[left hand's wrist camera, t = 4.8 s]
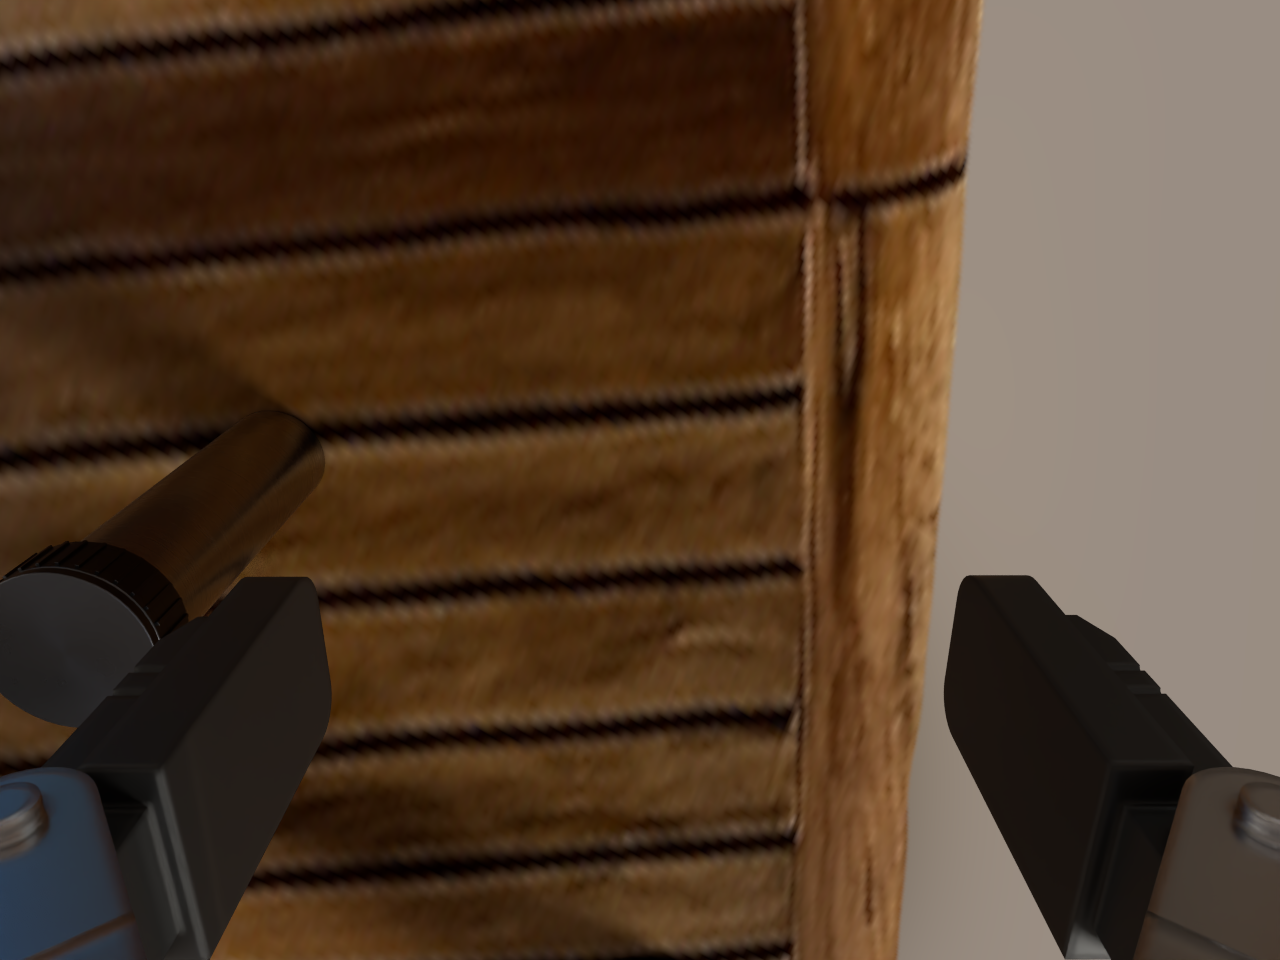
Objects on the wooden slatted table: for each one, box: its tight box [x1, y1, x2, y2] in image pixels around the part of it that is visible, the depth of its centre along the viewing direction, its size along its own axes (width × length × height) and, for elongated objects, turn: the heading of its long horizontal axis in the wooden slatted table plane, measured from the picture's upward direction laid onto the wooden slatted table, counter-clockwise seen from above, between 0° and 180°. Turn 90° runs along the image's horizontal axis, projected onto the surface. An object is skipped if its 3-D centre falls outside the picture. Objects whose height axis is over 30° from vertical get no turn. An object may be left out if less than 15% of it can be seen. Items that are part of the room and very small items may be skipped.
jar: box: [80, 411, 325, 622], centre depth 34 cm, size 4×4×16 cm
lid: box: [0, 540, 189, 728], centre depth 27 cm, size 6×6×2 cm
